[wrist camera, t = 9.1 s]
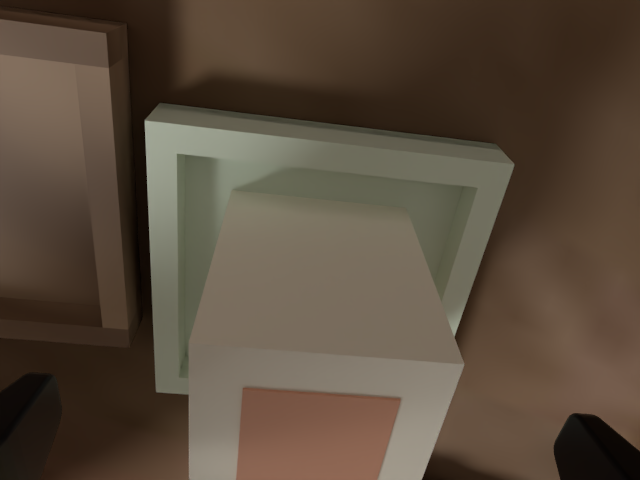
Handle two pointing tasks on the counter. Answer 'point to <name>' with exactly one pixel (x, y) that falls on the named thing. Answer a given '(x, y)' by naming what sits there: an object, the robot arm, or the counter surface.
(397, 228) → the letter block
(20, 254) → the walnut tray
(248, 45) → the counter surface
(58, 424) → the robot arm
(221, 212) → the green tray
